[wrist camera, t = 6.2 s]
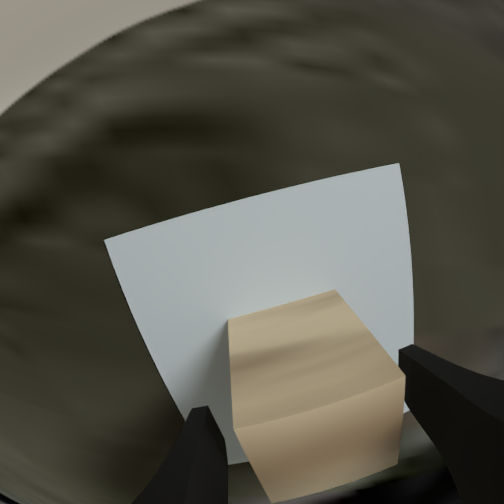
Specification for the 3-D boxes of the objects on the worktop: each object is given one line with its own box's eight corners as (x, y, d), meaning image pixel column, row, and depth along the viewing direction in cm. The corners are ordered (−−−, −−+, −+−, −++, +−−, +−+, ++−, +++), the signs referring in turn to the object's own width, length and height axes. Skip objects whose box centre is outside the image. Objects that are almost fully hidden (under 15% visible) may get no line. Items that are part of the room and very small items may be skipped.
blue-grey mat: (408, 409, 16) (409, 410, 15) (213, 465, 15) (213, 467, 15) (397, 163, 12) (399, 163, 11) (104, 239, 11) (104, 240, 11)
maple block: (346, 371, 14) (397, 463, 8) (255, 397, 14) (271, 503, 8) (334, 289, 13) (405, 375, 7) (228, 319, 13) (233, 429, 7)
